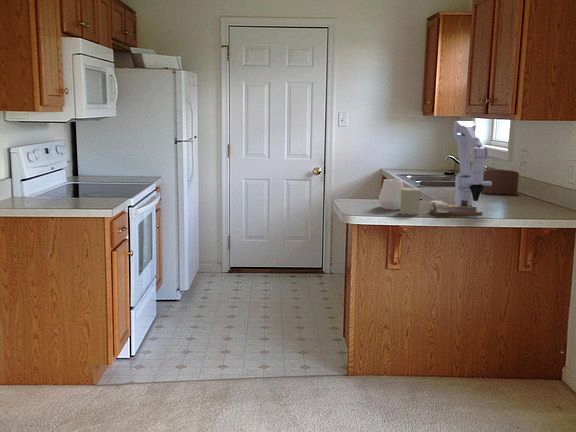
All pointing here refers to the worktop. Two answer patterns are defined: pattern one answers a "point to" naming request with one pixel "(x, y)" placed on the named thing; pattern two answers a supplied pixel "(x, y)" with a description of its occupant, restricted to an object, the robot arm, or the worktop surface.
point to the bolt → (463, 204)
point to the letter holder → (501, 182)
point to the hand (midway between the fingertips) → (475, 200)
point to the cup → (391, 194)
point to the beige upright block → (410, 201)
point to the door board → (451, 209)
